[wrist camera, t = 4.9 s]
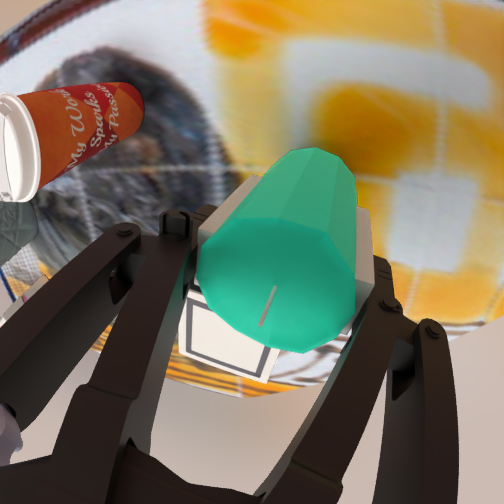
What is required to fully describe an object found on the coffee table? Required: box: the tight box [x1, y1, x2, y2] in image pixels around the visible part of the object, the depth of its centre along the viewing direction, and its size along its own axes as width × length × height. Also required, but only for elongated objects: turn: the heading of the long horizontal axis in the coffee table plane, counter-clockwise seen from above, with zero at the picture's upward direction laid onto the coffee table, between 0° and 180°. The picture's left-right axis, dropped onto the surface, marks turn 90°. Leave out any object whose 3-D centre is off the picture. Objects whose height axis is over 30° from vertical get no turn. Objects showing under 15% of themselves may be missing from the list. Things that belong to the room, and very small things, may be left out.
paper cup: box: [0, 82, 144, 202], centre depth 19 cm, size 8×8×14 cm
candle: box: [196, 147, 357, 353], centre depth 14 cm, size 6×6×12 cm
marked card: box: [179, 289, 280, 384], centre depth 36 cm, size 13×13×1 cm
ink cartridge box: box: [0, 275, 49, 327], centre depth 40 cm, size 9×5×15 cm, turn 125°
